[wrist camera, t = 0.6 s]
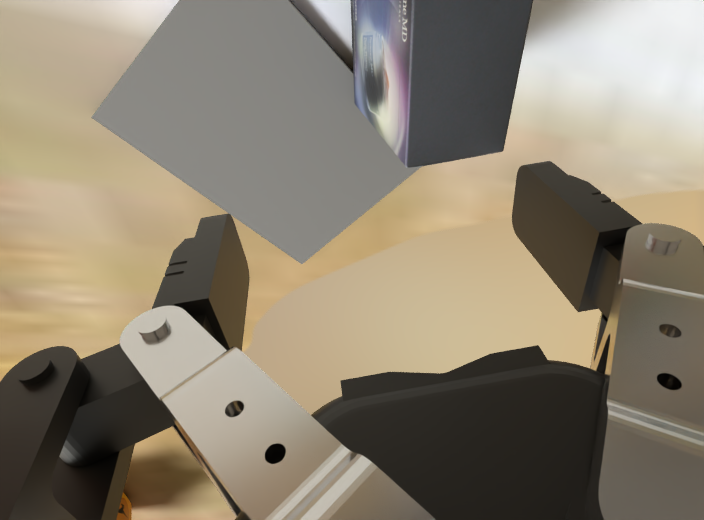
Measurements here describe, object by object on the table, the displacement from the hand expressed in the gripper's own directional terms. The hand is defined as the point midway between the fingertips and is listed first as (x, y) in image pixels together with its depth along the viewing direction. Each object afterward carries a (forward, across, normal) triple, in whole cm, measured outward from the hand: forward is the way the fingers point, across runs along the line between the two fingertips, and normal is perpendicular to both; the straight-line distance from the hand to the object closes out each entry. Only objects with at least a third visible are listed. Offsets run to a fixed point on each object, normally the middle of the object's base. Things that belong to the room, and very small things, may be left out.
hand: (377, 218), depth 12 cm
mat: (+22, +4, +5) cm, 23 cm away
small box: (+22, -5, -2) cm, 22 cm away
